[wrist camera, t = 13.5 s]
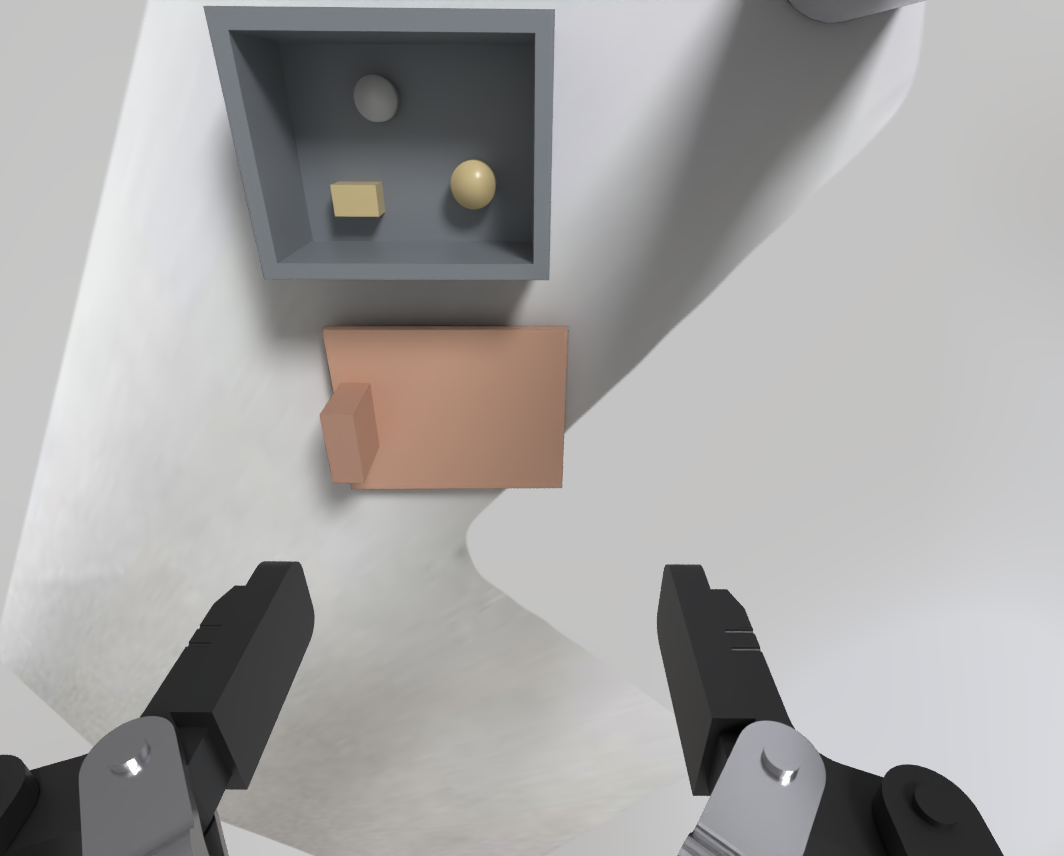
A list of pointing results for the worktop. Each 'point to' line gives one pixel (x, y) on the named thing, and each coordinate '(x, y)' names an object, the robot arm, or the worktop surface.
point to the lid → (446, 406)
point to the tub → (392, 139)
